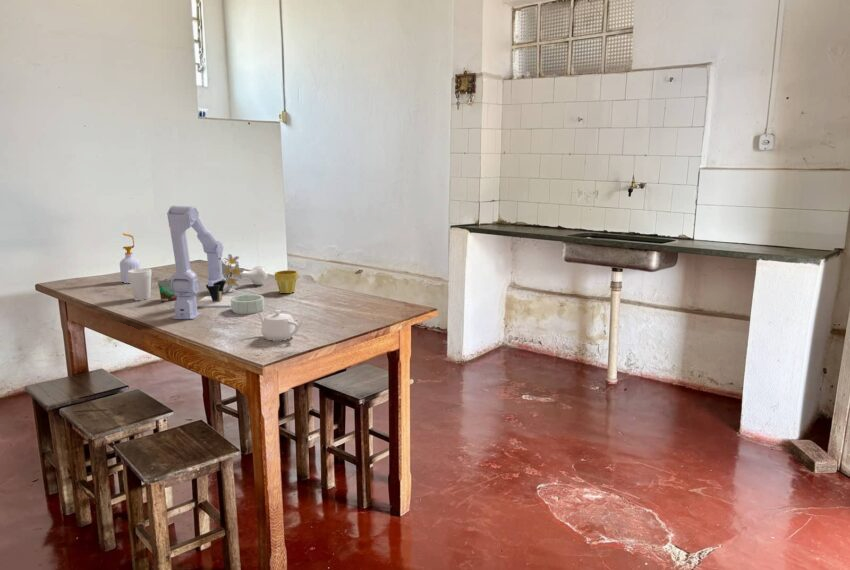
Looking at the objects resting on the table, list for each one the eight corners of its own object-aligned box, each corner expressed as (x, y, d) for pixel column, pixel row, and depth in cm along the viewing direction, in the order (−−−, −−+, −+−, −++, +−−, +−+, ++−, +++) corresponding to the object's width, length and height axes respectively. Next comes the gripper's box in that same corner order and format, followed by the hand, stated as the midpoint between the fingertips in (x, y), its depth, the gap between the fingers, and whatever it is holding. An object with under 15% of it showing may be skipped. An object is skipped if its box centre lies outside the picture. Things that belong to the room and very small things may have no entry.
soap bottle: (121, 281, 313) (116, 232, 308) (141, 279, 317) (136, 231, 312) (121, 284, 306) (116, 235, 300) (141, 282, 309) (136, 234, 304)
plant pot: (274, 290, 293) (273, 270, 291) (296, 289, 296) (296, 269, 294) (276, 295, 284) (275, 275, 281) (299, 294, 287) (298, 273, 285)
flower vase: (255, 296, 310) (212, 293, 290) (256, 260, 312) (213, 254, 292) (272, 295, 303) (229, 291, 282) (273, 258, 304) (231, 251, 284)
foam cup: (126, 299, 275) (123, 271, 273) (144, 295, 283) (141, 267, 280) (140, 302, 271) (137, 273, 268) (158, 297, 279) (155, 269, 276)
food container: (172, 303, 269) (170, 281, 267) (159, 303, 270) (157, 280, 268) (188, 297, 281) (186, 275, 278) (175, 296, 282) (174, 275, 280)
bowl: (259, 315, 251) (258, 302, 250) (227, 315, 251) (226, 301, 250) (267, 306, 264) (266, 294, 263) (237, 306, 264) (236, 294, 263)
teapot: (245, 337, 223) (244, 310, 220) (271, 328, 233) (269, 302, 231) (286, 346, 212) (284, 318, 210) (311, 337, 222) (310, 310, 220)
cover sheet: (230, 306, 262) (229, 296, 261) (192, 306, 262) (191, 296, 261) (241, 297, 278) (240, 287, 277) (205, 297, 278) (204, 287, 277)
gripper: (218, 271, 260) (221, 302, 263) (229, 265, 274) (231, 294, 277) (202, 271, 260) (204, 302, 263) (213, 265, 274) (215, 294, 277)
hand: (217, 298), depth 270 cm, fingers open, 5 cm apart
